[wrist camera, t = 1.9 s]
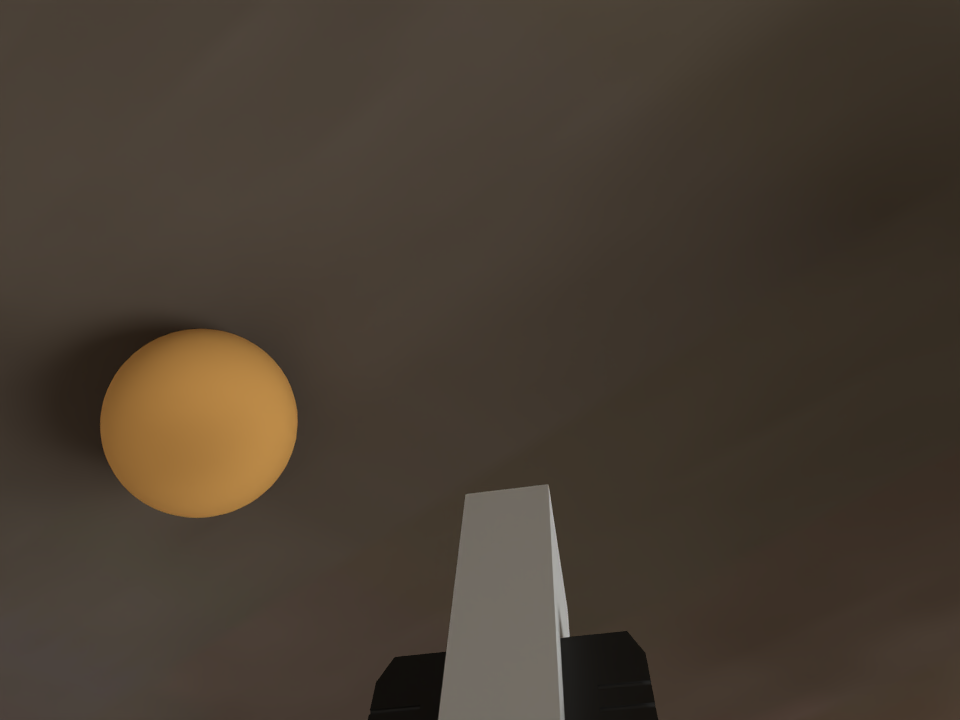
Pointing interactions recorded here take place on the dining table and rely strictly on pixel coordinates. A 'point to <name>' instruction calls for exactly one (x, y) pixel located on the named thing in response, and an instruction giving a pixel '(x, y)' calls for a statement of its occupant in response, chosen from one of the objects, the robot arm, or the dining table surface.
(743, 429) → the dining table surface
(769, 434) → the dining table surface
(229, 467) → the ball
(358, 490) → the dining table surface
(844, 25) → the dining table surface
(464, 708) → the robot arm
